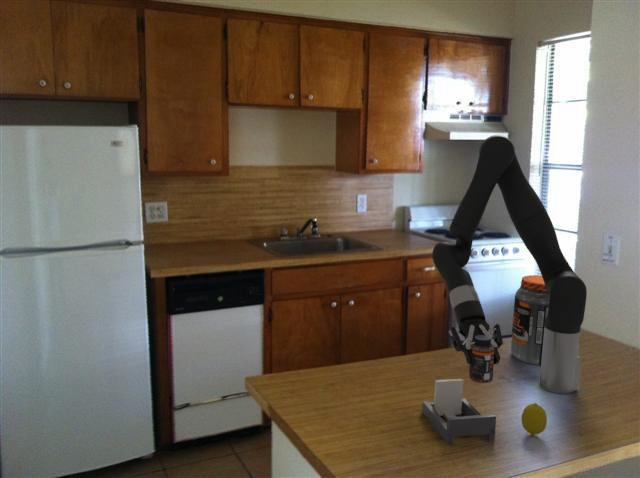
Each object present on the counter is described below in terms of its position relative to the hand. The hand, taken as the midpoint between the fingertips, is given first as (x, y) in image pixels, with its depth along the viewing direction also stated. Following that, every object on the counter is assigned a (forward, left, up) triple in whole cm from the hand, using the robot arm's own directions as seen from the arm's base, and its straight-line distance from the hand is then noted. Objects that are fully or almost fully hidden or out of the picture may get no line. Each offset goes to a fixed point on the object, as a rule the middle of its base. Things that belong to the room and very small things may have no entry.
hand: (485, 363), depth 147 cm
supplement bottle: (0, -2, -5) cm, 5 cm away
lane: (+10, +7, -12) cm, 18 cm away
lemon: (-6, +14, -12) cm, 20 cm away
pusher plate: (+10, +7, -12) cm, 17 cm away
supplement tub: (-35, -32, -12) cm, 49 cm away
